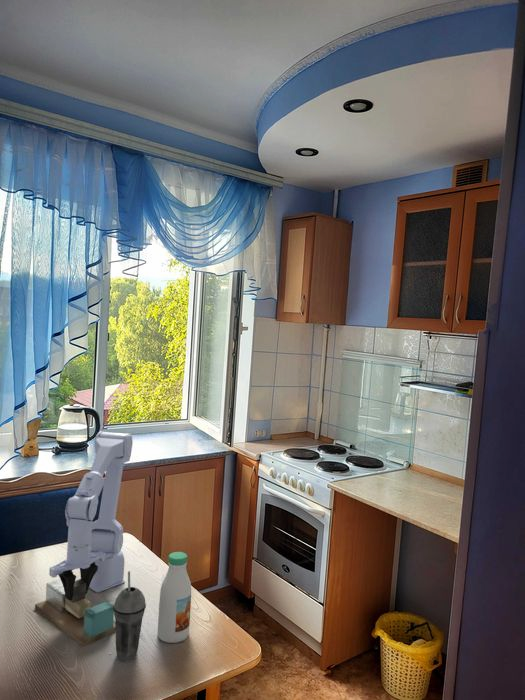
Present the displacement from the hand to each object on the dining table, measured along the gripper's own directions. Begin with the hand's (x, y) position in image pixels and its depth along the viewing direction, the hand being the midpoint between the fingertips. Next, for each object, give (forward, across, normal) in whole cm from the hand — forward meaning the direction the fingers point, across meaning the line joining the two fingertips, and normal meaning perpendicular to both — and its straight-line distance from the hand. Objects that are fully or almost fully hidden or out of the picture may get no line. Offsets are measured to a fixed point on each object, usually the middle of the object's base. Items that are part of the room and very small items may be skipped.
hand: (76, 595), depth 133 cm
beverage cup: (+6, 0, -22) cm, 23 cm away
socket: (+5, 0, -10) cm, 11 cm away
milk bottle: (+6, +13, -23) cm, 27 cm away
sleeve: (+5, 0, +7) cm, 8 cm away
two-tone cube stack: (+4, 0, +3) cm, 5 cm away
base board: (+6, 0, 0) cm, 6 cm away
